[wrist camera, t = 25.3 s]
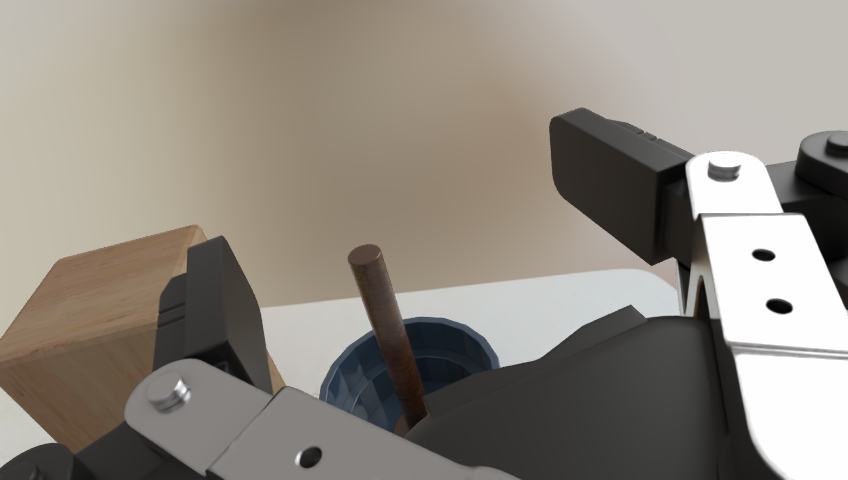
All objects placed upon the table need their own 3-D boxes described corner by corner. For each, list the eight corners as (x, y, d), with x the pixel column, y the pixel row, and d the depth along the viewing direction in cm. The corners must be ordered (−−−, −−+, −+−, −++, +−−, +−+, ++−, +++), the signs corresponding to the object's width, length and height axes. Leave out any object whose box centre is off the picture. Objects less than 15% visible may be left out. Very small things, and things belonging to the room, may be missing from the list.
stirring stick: (441, 401, 43) (389, 222, 33) (463, 447, 40) (413, 260, 29) (388, 425, 42) (319, 248, 32) (406, 473, 39) (334, 290, 28)
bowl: (468, 352, 48) (456, 295, 44) (545, 475, 37) (538, 415, 33) (330, 412, 46) (304, 357, 42) (370, 561, 35) (340, 507, 31)
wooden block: (189, 432, 47) (55, 256, 36) (298, 404, 47) (200, 220, 36) (160, 548, 39) (-27, 368, 27) (292, 513, 39) (162, 319, 27)
